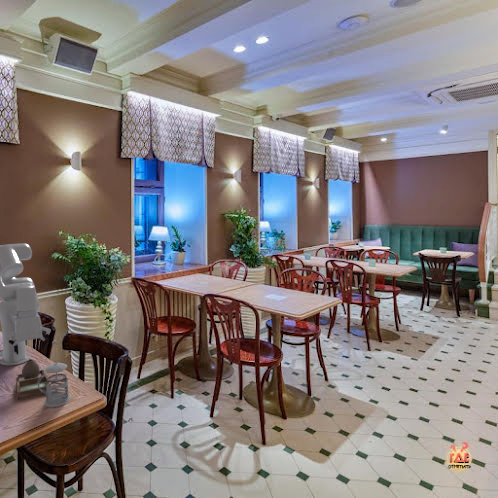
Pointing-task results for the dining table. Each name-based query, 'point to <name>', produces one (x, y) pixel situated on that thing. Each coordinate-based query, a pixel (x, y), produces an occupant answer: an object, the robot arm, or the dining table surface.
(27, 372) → the vase
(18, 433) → the dining table surface
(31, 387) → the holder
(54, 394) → the french press
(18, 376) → the trivet frame
